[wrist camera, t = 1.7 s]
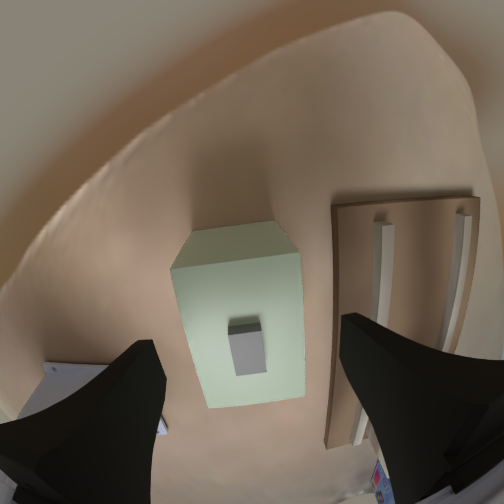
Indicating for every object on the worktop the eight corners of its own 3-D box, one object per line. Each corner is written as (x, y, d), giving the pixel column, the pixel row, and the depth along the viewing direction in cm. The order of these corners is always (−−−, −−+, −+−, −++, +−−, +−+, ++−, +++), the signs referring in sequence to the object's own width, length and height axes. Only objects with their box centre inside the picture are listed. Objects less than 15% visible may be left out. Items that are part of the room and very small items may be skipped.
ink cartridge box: (375, 458, 24) (413, 545, 10) (413, 441, 24) (457, 520, 11) (367, 484, 27) (394, 554, 13) (400, 470, 27) (431, 536, 13)
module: (213, 338, 17) (208, 417, 11) (192, 231, 15) (166, 275, 9) (283, 329, 17) (307, 404, 11) (274, 220, 15) (304, 257, 9)
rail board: (324, 442, 22) (344, 505, 14) (330, 205, 15) (412, 240, 8) (426, 406, 22) (459, 454, 15) (471, 195, 15) (551, 217, 8)
